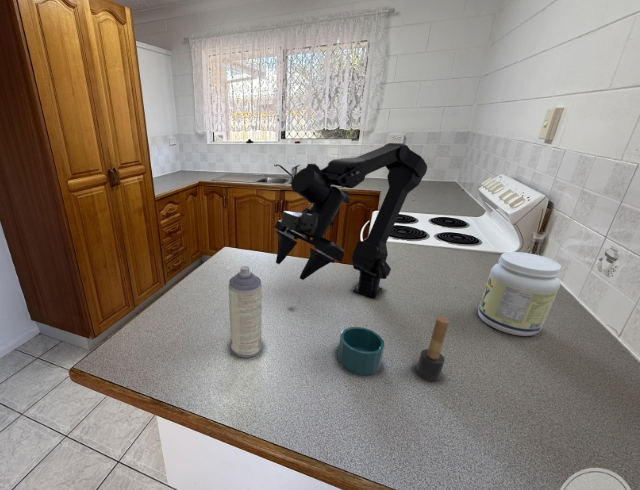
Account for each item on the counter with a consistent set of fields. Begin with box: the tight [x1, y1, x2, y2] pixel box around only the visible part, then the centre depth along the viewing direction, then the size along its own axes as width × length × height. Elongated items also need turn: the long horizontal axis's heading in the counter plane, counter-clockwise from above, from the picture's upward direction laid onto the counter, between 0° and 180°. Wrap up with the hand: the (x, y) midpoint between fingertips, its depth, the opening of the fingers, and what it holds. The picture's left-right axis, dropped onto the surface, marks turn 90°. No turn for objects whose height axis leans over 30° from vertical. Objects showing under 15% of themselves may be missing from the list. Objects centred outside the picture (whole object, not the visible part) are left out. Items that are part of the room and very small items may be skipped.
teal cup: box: [337, 326, 385, 376], centre depth 65 cm, size 8×8×6 cm
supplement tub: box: [477, 251, 562, 337], centre depth 74 cm, size 12×12×17 cm
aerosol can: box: [228, 265, 263, 359], centre depth 66 cm, size 7×7×20 cm
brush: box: [415, 316, 450, 382], centre depth 60 cm, size 4×4×13 cm
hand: (288, 271), depth 72 cm, fingers open, 9 cm apart
